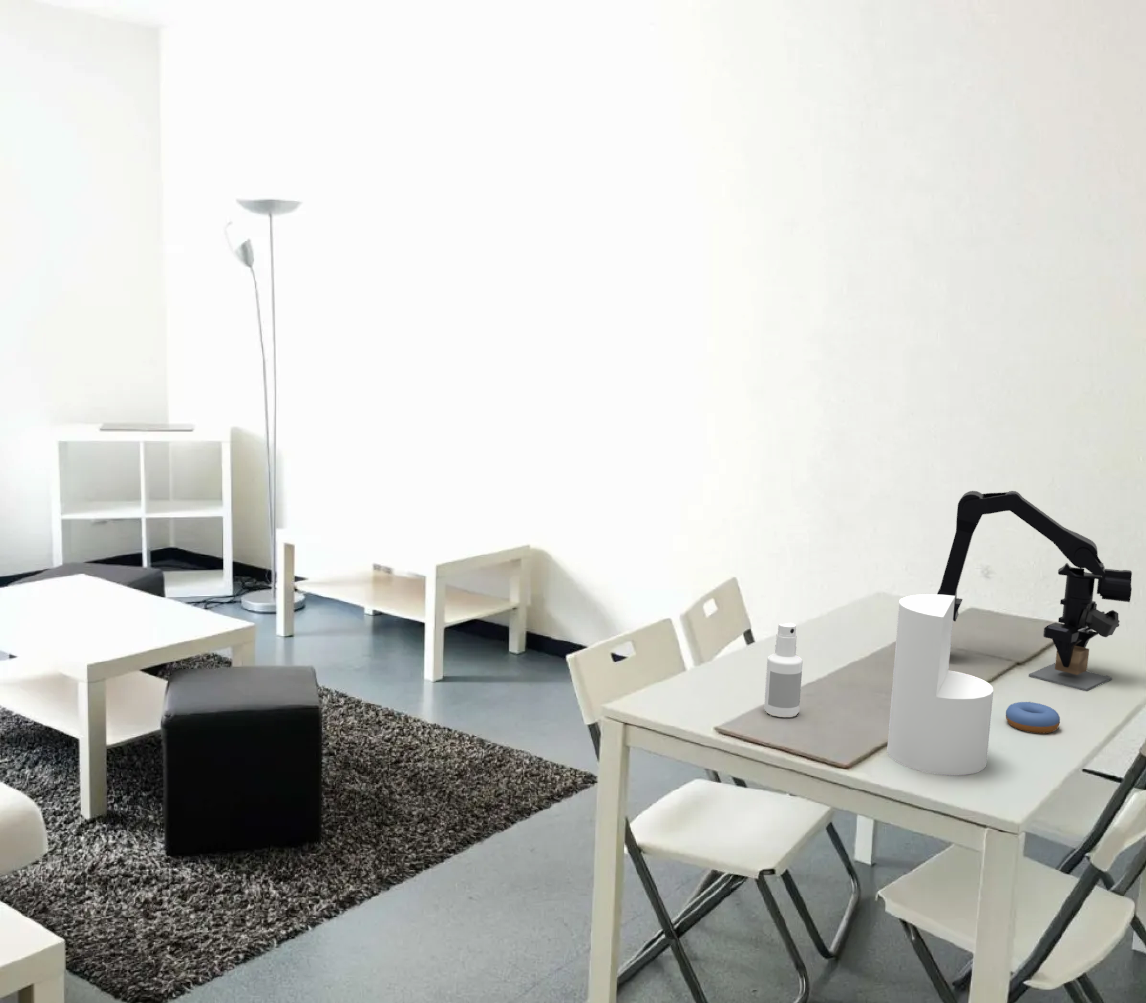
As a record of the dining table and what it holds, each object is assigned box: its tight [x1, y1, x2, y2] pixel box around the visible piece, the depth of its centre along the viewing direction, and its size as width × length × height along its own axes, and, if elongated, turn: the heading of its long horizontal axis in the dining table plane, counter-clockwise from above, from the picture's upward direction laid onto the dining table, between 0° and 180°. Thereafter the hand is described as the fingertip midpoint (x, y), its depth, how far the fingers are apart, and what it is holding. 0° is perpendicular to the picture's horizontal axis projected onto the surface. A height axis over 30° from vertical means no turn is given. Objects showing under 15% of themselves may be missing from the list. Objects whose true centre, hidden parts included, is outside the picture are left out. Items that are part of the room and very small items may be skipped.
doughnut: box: [1005, 701, 1061, 734], centre depth 236 cm, size 10×10×5 cm
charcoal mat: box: [1028, 662, 1113, 692], centre depth 268 cm, size 13×13×1 cm
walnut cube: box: [1054, 646, 1090, 675], centre depth 267 cm, size 5×5×5 cm
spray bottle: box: [763, 622, 804, 715], centre depth 237 cm, size 7×7×18 cm
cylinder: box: [886, 593, 994, 776], centre depth 216 cm, size 17×17×28 cm
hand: (1071, 664), depth 268 cm, fingers closed on walnut cube, 5 cm apart
